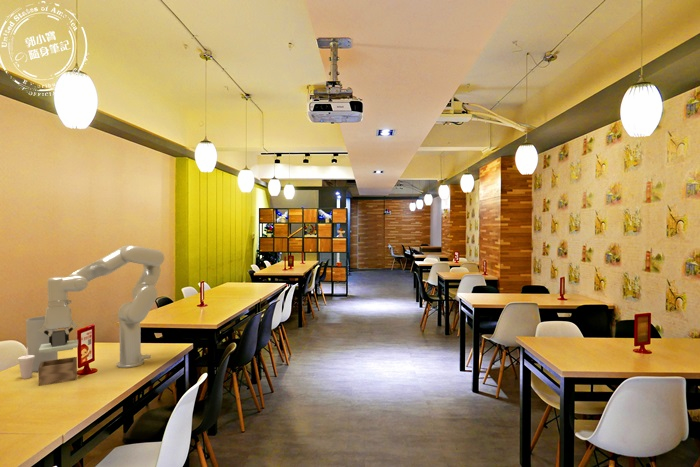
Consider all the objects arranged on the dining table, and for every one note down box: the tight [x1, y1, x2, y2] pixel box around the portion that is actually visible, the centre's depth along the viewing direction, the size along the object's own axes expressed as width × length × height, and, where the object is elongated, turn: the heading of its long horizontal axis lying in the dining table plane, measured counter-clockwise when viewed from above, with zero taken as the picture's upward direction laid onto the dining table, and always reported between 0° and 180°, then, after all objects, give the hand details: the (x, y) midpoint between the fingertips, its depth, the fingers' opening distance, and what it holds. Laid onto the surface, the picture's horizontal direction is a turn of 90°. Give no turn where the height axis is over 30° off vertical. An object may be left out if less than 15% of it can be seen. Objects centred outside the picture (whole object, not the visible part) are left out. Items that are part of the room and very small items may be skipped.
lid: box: [39, 329, 79, 353], centre depth 198 cm, size 14×11×8 cm
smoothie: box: [17, 347, 35, 380], centre depth 201 cm, size 6×6×14 cm
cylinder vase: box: [25, 315, 59, 373], centre depth 214 cm, size 12×12×25 cm
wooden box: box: [38, 356, 78, 386], centre depth 198 cm, size 14×11×8 cm
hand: (59, 343), depth 198 cm, fingers closed on lid, 4 cm apart
